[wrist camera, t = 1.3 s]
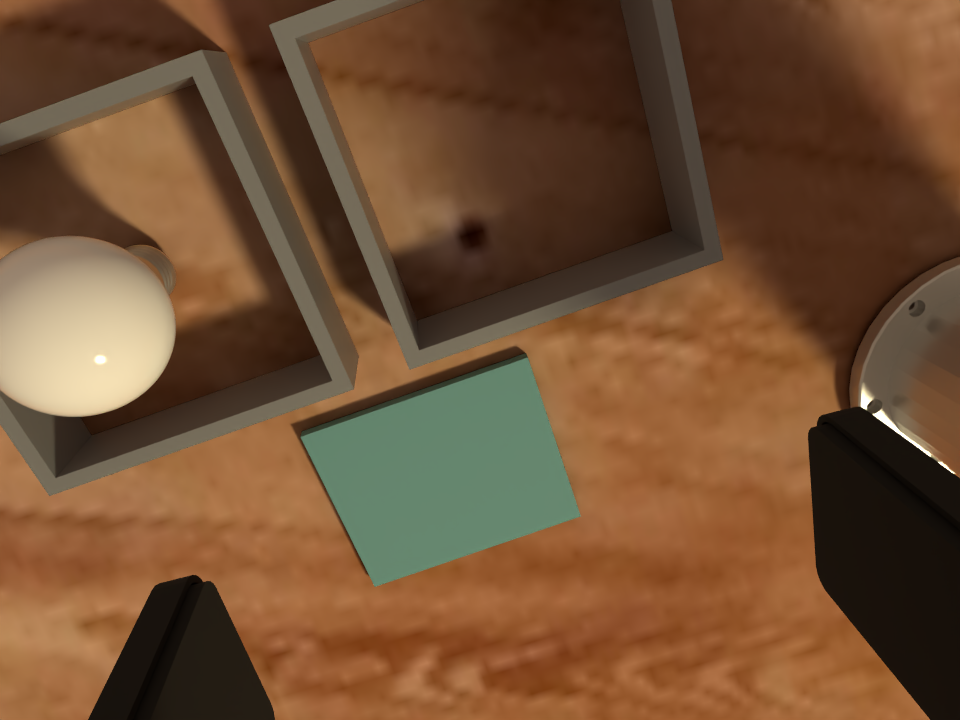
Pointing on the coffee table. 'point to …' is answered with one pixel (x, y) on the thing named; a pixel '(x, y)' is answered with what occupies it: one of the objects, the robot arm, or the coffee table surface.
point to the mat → (444, 470)
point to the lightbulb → (84, 324)
